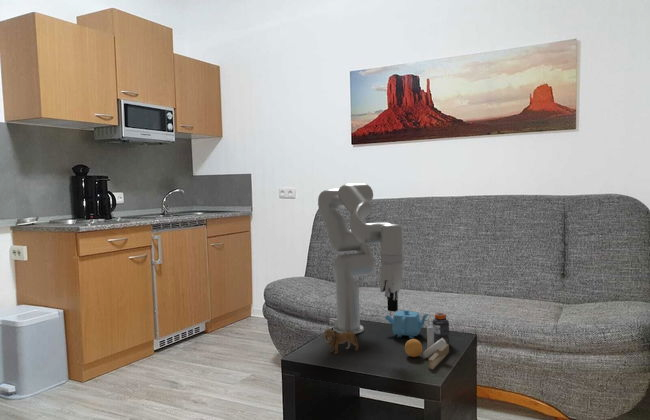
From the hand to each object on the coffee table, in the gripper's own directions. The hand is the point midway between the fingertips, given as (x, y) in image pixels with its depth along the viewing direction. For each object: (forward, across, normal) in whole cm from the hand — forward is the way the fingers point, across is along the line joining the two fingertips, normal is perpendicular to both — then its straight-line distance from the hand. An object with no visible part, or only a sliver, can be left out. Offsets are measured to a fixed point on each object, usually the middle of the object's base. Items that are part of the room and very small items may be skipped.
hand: (392, 310), depth 168 cm
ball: (+12, 0, +8) cm, 14 cm away
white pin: (+14, 0, +12) cm, 18 cm away
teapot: (+15, -22, -3) cm, 27 cm away
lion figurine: (+15, +7, -17) cm, 24 cm away
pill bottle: (+15, -17, +12) cm, 26 cm away
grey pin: (+15, -8, +11) cm, 20 cm away
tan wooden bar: (+15, 0, +16) cm, 22 cm away
